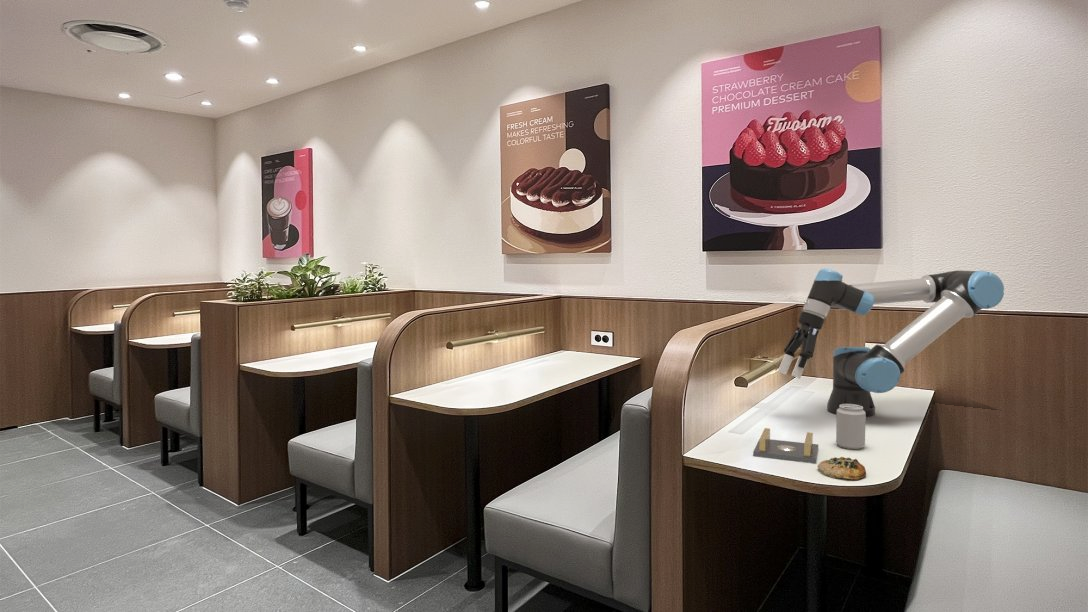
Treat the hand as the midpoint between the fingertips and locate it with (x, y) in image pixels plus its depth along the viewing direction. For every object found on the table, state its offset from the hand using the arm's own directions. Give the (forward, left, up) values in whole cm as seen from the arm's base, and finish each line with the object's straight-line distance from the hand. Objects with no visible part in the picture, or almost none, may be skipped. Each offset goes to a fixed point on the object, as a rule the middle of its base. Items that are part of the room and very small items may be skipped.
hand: (788, 375), depth 201 cm
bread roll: (+2, +46, -17) cm, 49 cm away
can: (-10, +24, -17) cm, 31 cm away
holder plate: (+10, +29, -16) cm, 35 cm away
